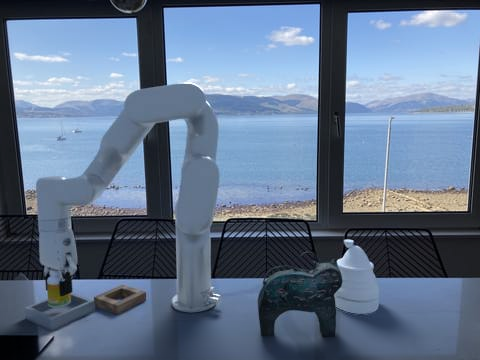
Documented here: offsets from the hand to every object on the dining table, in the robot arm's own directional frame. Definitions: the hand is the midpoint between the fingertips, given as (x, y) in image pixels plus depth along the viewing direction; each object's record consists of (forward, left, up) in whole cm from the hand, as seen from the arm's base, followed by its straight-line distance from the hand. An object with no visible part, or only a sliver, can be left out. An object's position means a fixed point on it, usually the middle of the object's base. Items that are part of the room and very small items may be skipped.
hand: (59, 290), depth 94 cm
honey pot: (-65, -47, -7) cm, 80 cm away
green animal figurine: (-58, -24, -7) cm, 63 cm away
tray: (0, 0, -7) cm, 7 cm away
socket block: (-8, -13, -7) cm, 17 cm away
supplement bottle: (0, 0, -4) cm, 4 cm away
